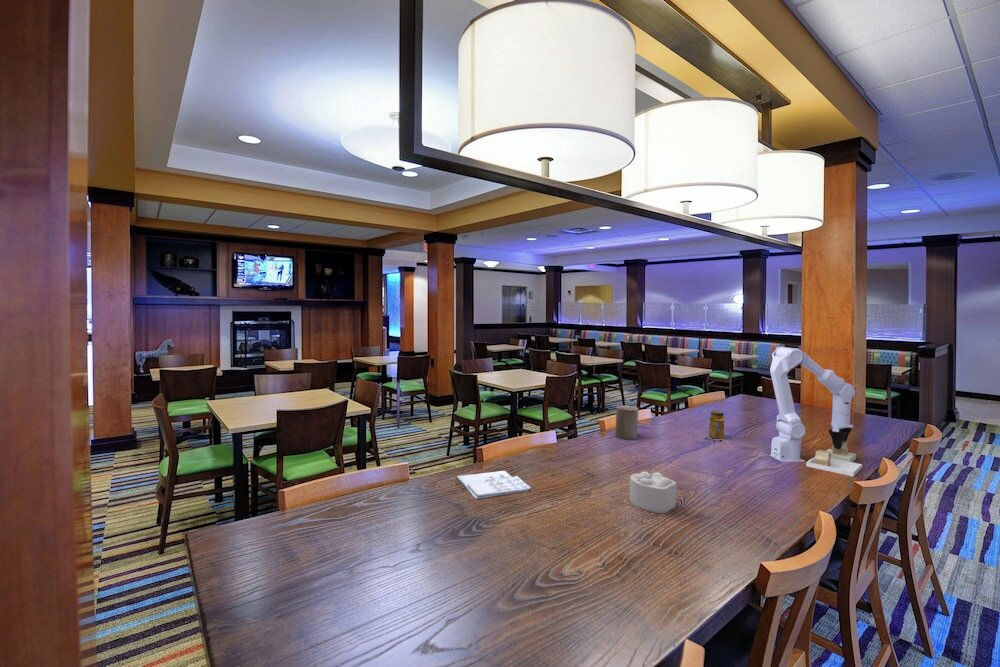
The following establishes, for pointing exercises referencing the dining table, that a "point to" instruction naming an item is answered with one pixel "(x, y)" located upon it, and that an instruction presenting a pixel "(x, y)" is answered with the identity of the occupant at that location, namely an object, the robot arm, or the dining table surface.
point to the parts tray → (837, 466)
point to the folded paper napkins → (492, 484)
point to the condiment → (716, 425)
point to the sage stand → (849, 457)
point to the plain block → (823, 458)
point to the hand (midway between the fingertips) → (839, 446)
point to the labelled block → (843, 449)
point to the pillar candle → (626, 422)
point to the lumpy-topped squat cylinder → (652, 492)
